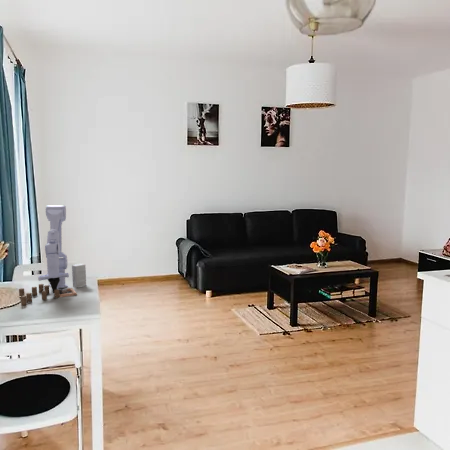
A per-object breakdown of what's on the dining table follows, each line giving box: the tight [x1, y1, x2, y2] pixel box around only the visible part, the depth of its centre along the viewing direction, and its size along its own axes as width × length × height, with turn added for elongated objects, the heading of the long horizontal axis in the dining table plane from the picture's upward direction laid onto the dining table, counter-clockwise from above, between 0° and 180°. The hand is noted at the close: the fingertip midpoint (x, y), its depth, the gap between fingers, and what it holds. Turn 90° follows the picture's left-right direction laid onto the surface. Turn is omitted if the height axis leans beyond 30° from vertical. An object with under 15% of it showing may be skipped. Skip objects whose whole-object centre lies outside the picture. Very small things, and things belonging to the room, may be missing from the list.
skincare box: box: [71, 262, 87, 289], centre depth 258 cm, size 6×4×12 cm
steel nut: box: [57, 287, 68, 294], centre depth 243 cm, size 6×5×3 cm
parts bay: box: [60, 287, 78, 298], centre depth 245 cm, size 10×9×1 cm
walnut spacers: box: [18, 283, 61, 306], centre depth 238 cm, size 20×18×4 cm
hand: (54, 292), depth 242 cm, fingers closed
